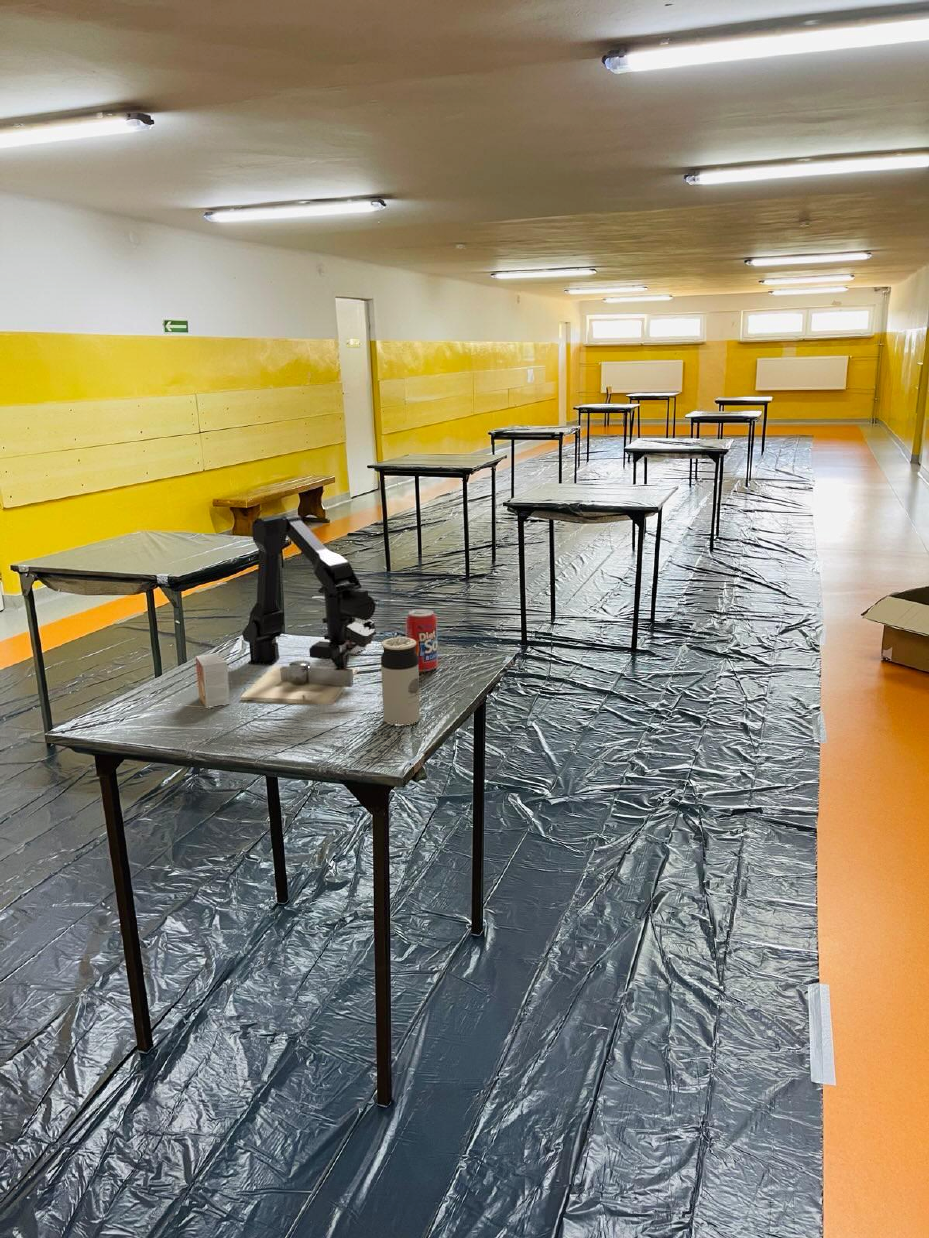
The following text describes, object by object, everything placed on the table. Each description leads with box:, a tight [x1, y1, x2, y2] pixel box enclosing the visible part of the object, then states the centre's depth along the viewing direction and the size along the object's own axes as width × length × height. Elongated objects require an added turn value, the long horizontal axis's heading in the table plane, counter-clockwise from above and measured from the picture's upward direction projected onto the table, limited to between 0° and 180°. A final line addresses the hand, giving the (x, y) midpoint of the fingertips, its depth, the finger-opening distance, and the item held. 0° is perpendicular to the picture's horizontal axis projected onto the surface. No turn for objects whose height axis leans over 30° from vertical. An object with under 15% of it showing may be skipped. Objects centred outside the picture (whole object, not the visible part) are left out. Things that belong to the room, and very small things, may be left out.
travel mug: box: [380, 636, 421, 725], centre depth 189 cm, size 8×8×18 cm
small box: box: [195, 652, 231, 708], centre depth 203 cm, size 8×6×10 cm
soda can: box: [405, 608, 439, 673], centre depth 222 cm, size 8×8×15 cm
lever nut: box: [280, 660, 354, 688], centre depth 211 cm, size 18×5×4 cm, turn 73°
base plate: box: [240, 665, 358, 706], centre depth 213 cm, size 22×22×1 cm
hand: (342, 674), depth 211 cm, fingers closed
